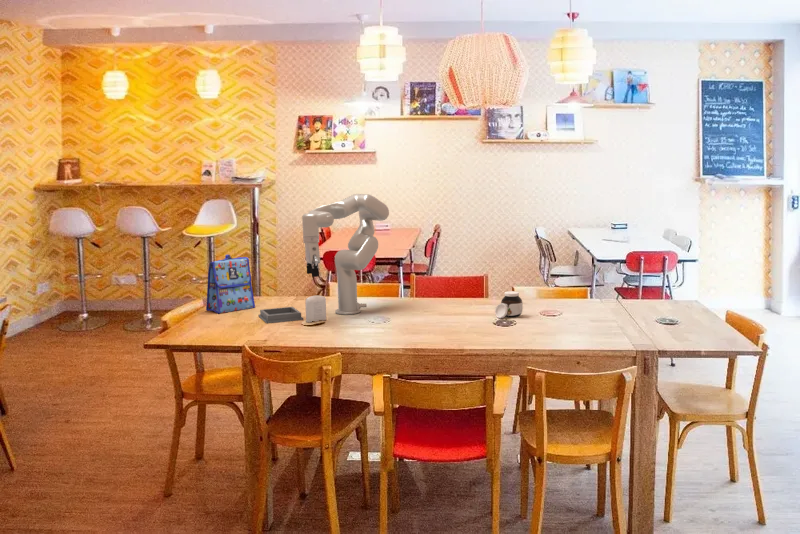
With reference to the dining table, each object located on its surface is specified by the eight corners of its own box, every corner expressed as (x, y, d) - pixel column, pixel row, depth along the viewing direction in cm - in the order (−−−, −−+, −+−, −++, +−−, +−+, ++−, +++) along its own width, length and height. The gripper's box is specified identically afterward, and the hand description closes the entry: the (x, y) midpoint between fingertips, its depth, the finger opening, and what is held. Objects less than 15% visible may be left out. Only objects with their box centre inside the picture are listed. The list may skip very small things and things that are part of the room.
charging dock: (293, 313, 432) (293, 306, 431) (303, 319, 415) (303, 312, 414) (258, 316, 425) (258, 309, 424) (266, 323, 408) (266, 316, 408)
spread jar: (524, 315, 415) (524, 291, 413) (517, 320, 404) (517, 295, 403) (500, 313, 420) (500, 290, 418) (493, 318, 409) (492, 294, 408)
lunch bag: (218, 314, 433) (215, 257, 428) (205, 310, 443) (202, 255, 438) (255, 308, 447) (253, 253, 442) (242, 304, 457) (239, 250, 452)
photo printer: (323, 318, 417) (322, 293, 415) (327, 320, 413) (326, 295, 411) (304, 321, 411) (303, 296, 409) (308, 323, 408) (307, 297, 406)
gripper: (323, 241, 399) (325, 277, 402) (314, 236, 415) (315, 271, 418) (308, 242, 397) (309, 278, 400) (299, 238, 413) (300, 273, 416)
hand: (312, 275), depth 409 cm, fingers open, 9 cm apart
